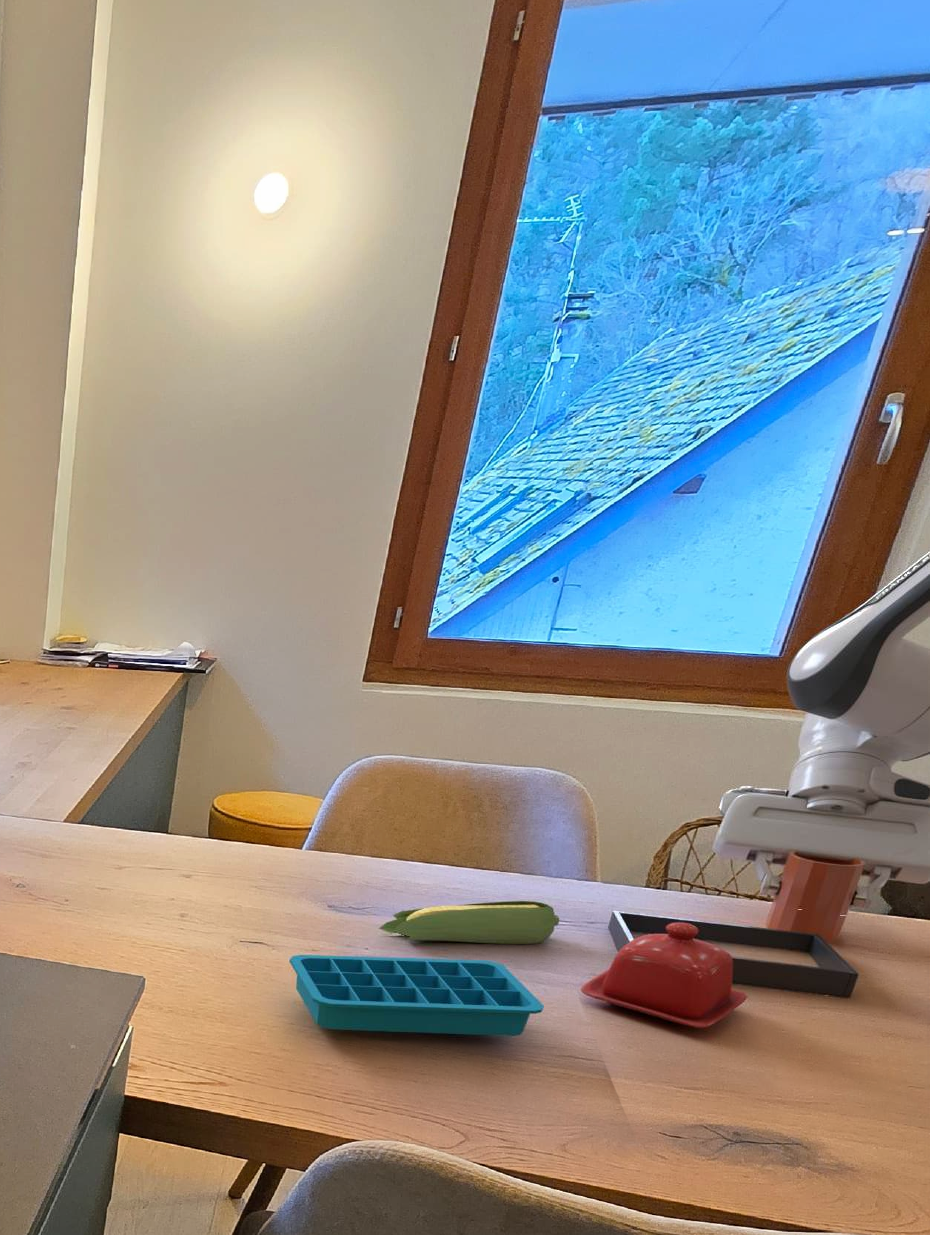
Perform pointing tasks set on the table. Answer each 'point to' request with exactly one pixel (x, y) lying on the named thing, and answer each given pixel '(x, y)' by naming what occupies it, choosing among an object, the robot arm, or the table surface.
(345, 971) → the ice cube tray
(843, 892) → the cup
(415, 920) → the edible corn
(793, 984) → the tray
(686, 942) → the butter dish
